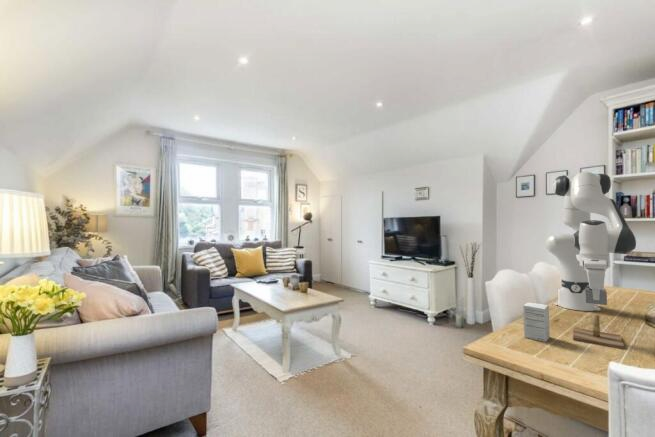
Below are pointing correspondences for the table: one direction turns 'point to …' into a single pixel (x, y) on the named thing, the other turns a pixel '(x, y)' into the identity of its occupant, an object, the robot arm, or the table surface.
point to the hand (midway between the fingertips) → (595, 297)
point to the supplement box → (536, 321)
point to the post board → (598, 340)
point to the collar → (601, 300)
